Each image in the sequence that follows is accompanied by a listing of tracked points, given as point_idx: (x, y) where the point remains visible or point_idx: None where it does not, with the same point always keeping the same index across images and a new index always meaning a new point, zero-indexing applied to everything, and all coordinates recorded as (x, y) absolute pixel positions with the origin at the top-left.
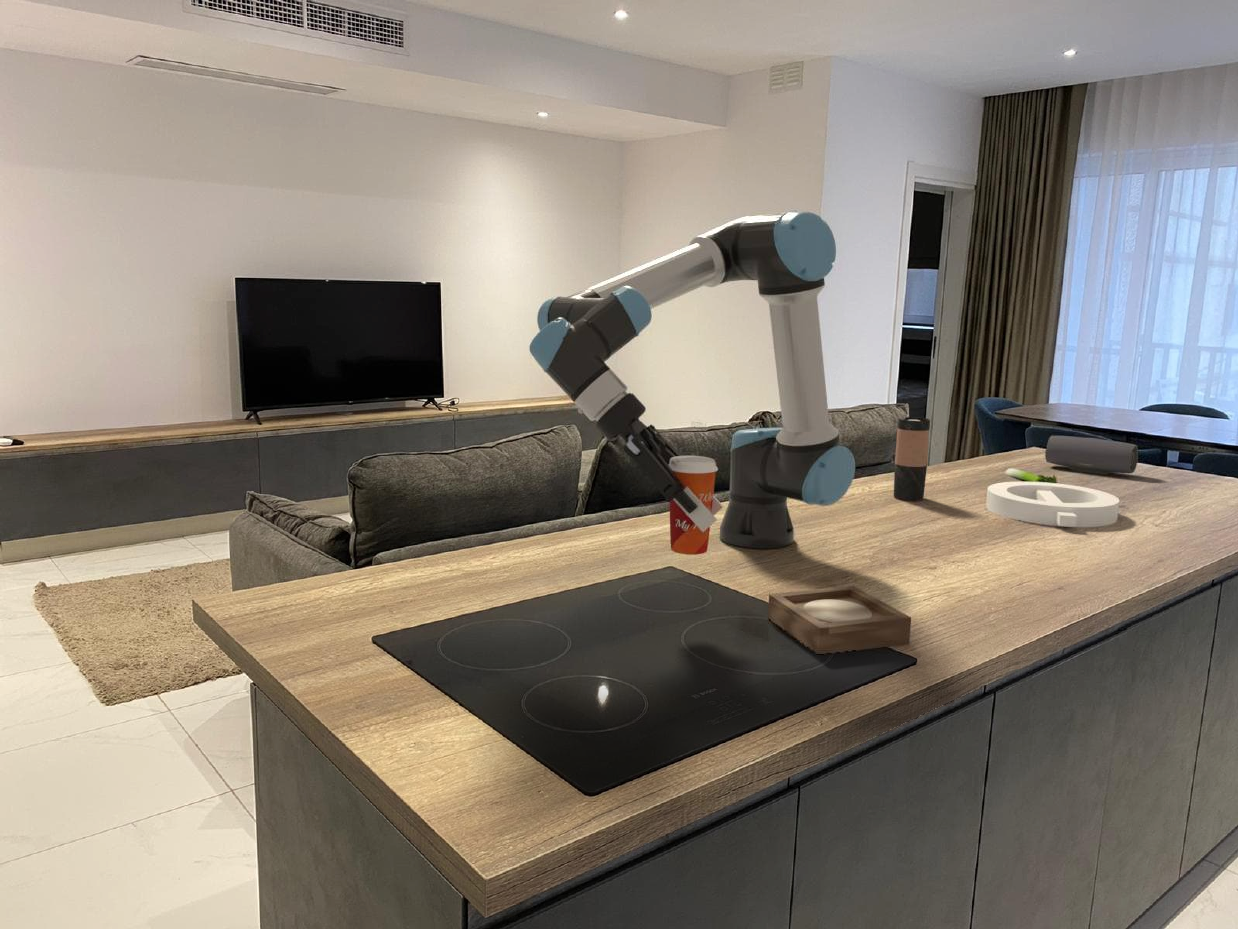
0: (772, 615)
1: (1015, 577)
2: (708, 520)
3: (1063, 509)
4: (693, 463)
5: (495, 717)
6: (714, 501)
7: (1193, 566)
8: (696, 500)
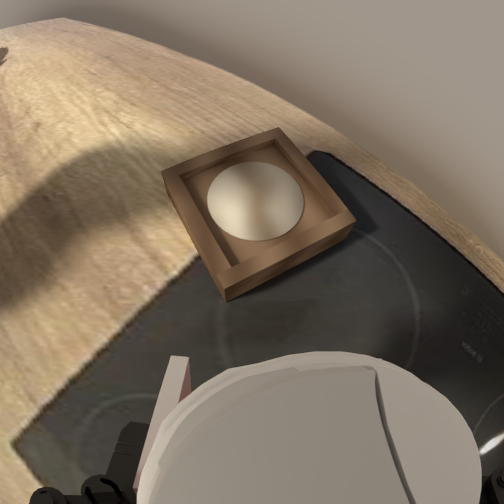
0: (238, 292)
1: (76, 76)
2: None
3: None
4: (473, 477)
5: None
6: (184, 388)
7: (79, 22)
8: None
